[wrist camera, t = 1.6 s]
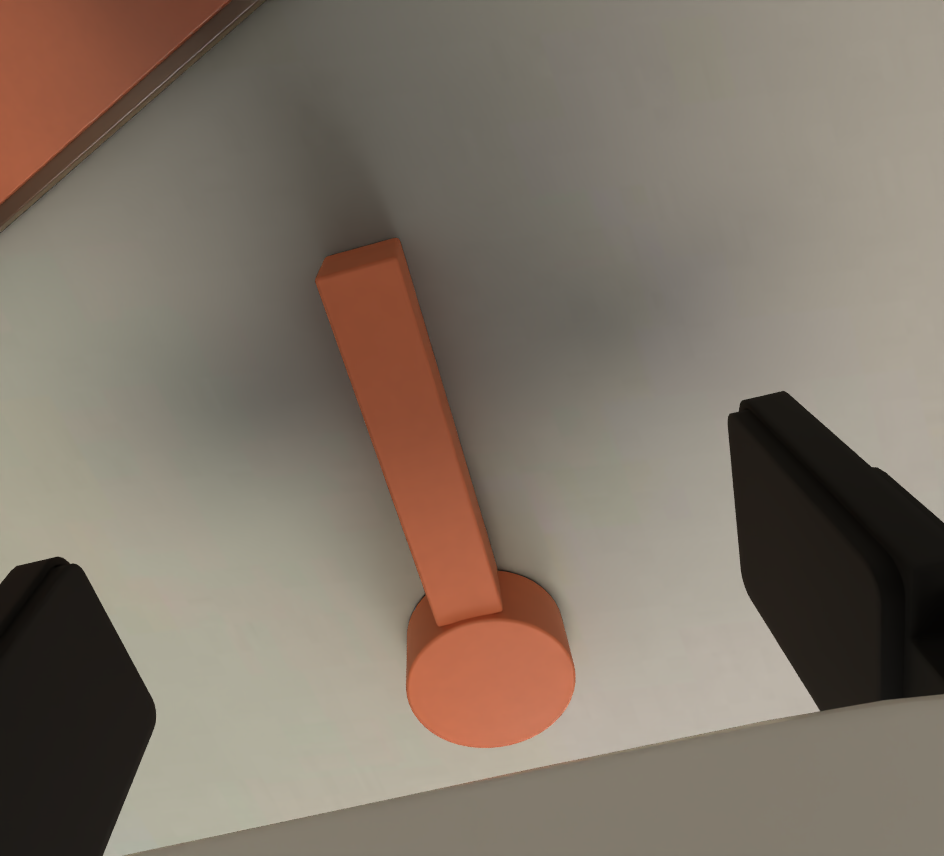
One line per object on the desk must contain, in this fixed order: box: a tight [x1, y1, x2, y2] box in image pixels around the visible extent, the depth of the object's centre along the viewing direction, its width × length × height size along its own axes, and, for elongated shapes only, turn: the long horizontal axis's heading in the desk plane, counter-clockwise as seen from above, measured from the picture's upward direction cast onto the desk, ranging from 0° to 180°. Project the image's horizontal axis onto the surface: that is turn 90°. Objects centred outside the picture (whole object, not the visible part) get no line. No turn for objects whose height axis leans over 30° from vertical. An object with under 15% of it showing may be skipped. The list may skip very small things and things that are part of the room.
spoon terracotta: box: [315, 238, 575, 748], centre depth 20 cm, size 14×5×2 cm, turn 14°
